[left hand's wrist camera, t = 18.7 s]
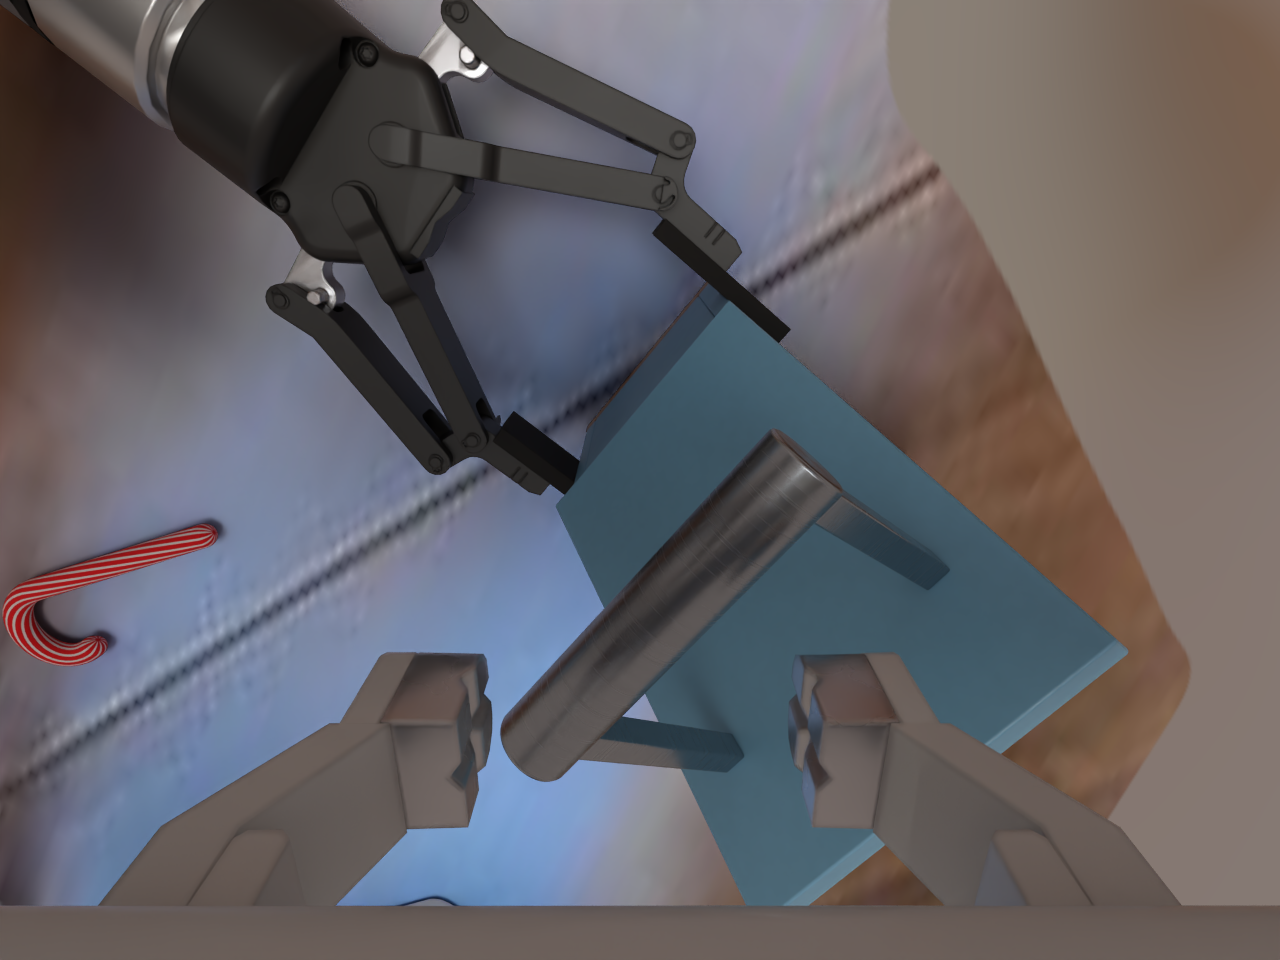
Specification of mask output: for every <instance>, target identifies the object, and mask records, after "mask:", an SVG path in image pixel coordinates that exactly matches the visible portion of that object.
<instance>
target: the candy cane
mask: <svg viewBox="0 0 1280 960" xmlns="http://www.w3.org/2000/svg"><path fill="white" fill-rule="evenodd" d="M217 538H218V533H217V530H216V529H215V528H214V527H213V526H212V525H209V524H199V525H196V526H193V527H190V528H187V529H183V530H180V531H177V532H174V533H171V534H168V535H165V536H162V537H159V538H155V539H152V540H149V541H146V542H143V543H140V544H137V545H134V546H131V547H128V548H125V549H121V550H118V551H115V552H112V553H109V554H106V555H103V556H100V557H97V558H94V559H90V560H87V561H84V562H81V563H78V564H75V565H72V566H69V567H66V568H62V569H59V570H56V571H53V572H50V573H47V574H44V575H41V576H38V577H35V578H32V579H29V580H26V581H24V582H22V583H20V584H19V585H17V586H16V587H15V588H14V589H12V591H11V592H10V593H9V594H8V596H7V598H6V600H5V602H4V606H3V620H4V624H5V627H6V629H7V631H8V633H9V635H10V636H11V638H12V639H13V640H14V642H15V643H16V644H17V645H18V646H19V647H20V648H22V649H23V650H24V651H25V652H27V653H28V654H30V655H31V656H33V657H35V658H37V659H39V660H41V661H44V662H47V663H50V664H54V665H60V666H77V665H83V664H86V663H89V662H91V661H93V660H95V659H97V658H98V657H100V656H101V655H102V654H104V653H105V651H106V650H107V647H108V643H107V641H106V639H105V638H103V637H101V636H89V637H87V638H85V639H84V640H82V641H81V642H78V643H67V642H63V641H60V640H58V639H56V638H54V637H52V636H50V635H49V634H47V633H46V632H45V631H44V630H43V629H42V628H41V627H40V625H39V624H38V623H37V621H36V619H35V616H34V605H35V604H36V602H38V601H40V600H43V599H46V598H49V597H52V596H55V595H59V594H62V593H65V592H68V591H71V590H74V589H77V588H81V587H84V586H87V585H90V584H93V583H96V582H99V581H102V580H106V579H109V578H112V577H115V576H118V575H121V574H125V573H128V572H131V571H134V570H137V569H140V568H143V567H147V566H150V565H153V564H156V563H159V562H162V561H165V560H169V559H172V558H175V557H178V556H181V555H184V554H187V553H191V552H194V551H197V550H200V549H203V548H206V547H209V546H211V545H213V544H214V543H215V542H216V540H217Z"/></svg>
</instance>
